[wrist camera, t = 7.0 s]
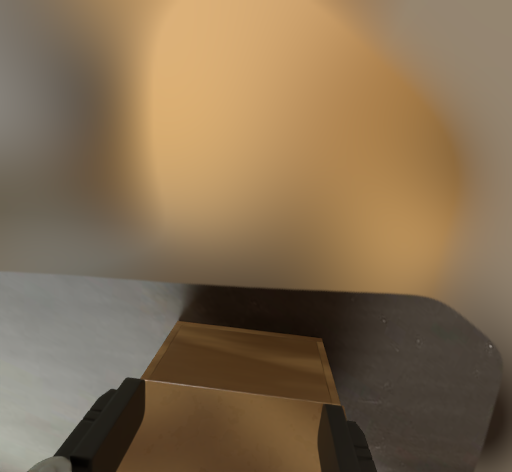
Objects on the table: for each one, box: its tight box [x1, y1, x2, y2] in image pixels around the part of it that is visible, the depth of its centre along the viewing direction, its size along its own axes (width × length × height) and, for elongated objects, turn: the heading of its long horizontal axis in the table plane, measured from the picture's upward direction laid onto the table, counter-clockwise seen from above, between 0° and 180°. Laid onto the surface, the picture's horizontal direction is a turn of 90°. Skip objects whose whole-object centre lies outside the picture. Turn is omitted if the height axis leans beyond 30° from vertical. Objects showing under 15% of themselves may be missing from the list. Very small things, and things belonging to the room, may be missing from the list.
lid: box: [116, 380, 347, 472], centre depth 13 cm, size 10×13×5 cm
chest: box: [140, 321, 341, 405], centre depth 23 cm, size 9×13×8 cm
